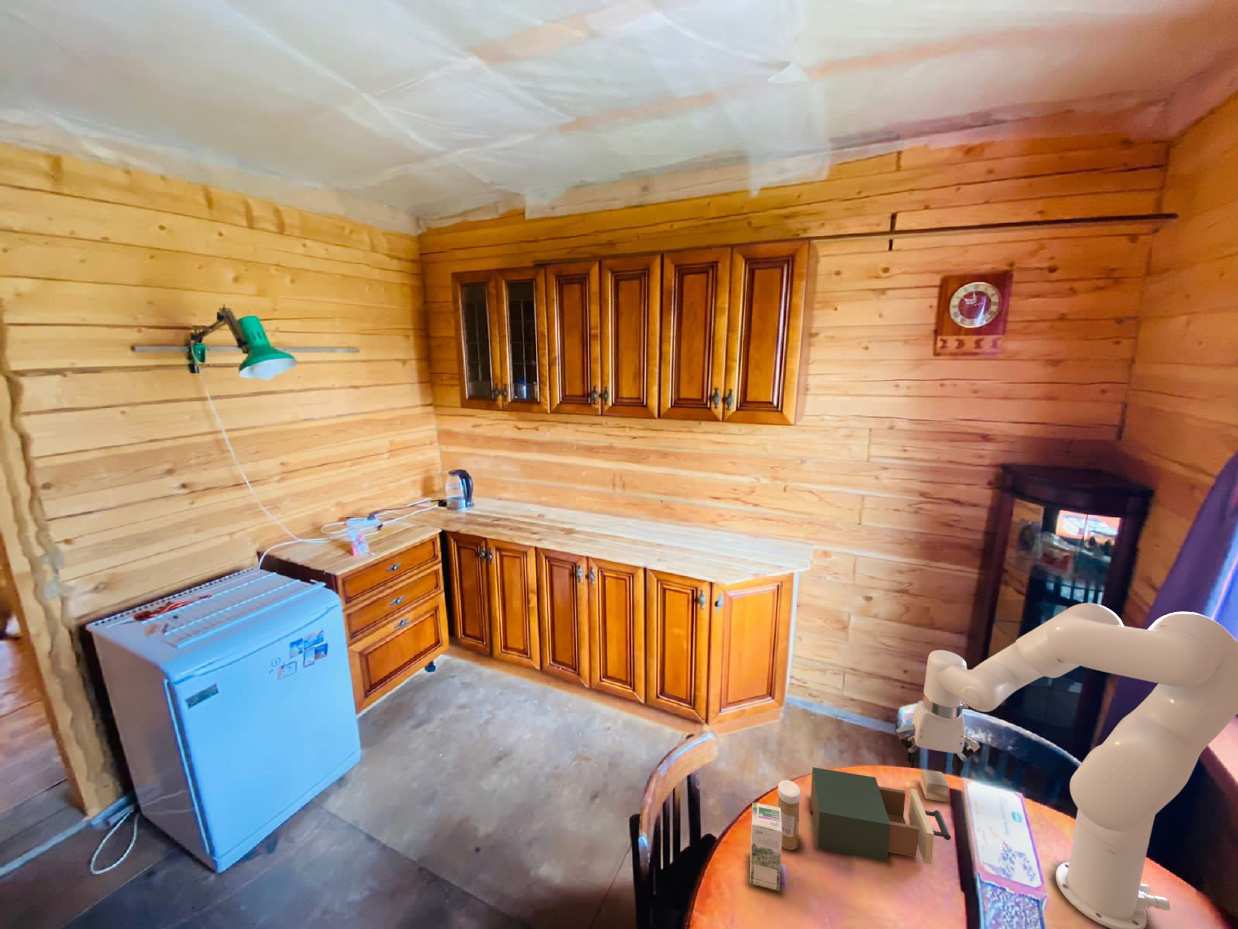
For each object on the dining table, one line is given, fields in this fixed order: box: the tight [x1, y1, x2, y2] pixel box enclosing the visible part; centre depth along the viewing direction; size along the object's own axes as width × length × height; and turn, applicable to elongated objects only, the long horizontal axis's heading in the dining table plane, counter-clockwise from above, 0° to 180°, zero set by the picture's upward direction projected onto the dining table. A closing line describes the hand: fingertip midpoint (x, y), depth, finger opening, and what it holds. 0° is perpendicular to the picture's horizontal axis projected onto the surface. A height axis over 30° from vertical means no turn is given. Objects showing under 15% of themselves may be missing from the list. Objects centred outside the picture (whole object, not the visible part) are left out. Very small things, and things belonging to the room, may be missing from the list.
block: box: [919, 768, 949, 803], centre depth 120 cm, size 4×4×4 cm
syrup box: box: [749, 801, 783, 892], centre depth 100 cm, size 6×6×14 cm
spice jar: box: [777, 779, 802, 850], centre depth 108 cm, size 5×5×14 cm
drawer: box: [878, 785, 952, 865], centre depth 108 cm, size 17×11×7 cm
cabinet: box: [810, 766, 890, 863], centre depth 111 cm, size 14×13×9 cm
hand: (933, 767), depth 120 cm, fingers open, 9 cm apart
